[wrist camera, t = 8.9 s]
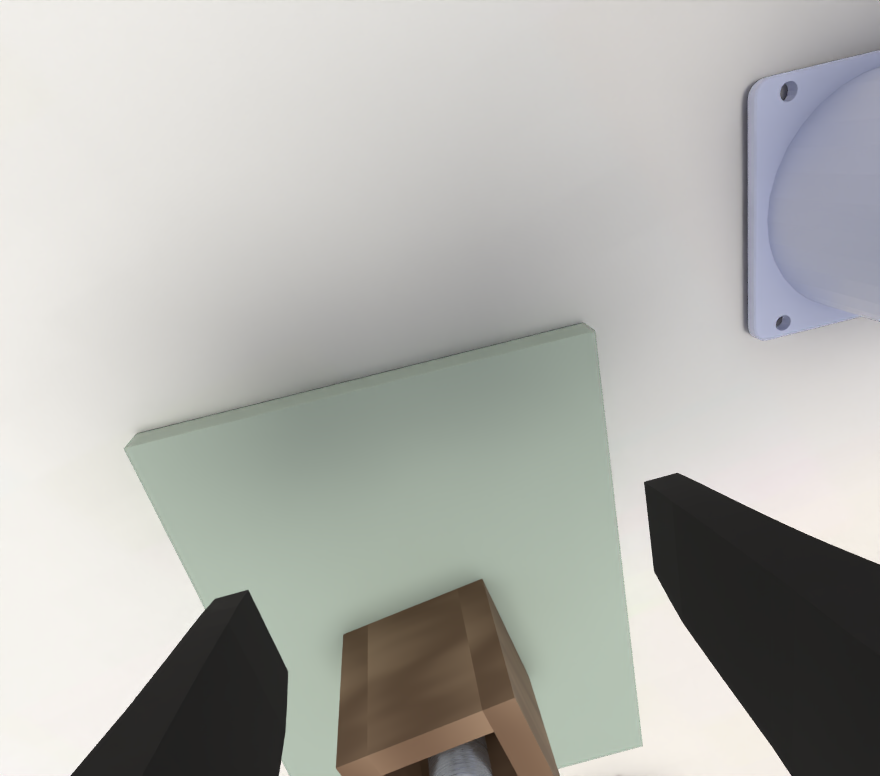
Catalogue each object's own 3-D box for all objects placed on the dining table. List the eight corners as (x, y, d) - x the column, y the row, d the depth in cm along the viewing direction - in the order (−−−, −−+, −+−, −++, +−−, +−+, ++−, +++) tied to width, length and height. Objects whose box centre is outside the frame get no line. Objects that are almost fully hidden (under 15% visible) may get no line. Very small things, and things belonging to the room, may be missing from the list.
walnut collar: (482, 578, 21) (514, 697, 16) (529, 676, 23) (569, 807, 18) (343, 634, 21) (335, 768, 16) (402, 726, 23) (410, 867, 18)
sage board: (583, 322, 18) (594, 330, 17) (633, 725, 26) (642, 745, 25) (136, 434, 18) (123, 448, 17) (320, 809, 26) (318, 833, 25)
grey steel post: (463, 638, 22) (489, 766, 17) (473, 674, 22) (500, 807, 18) (413, 651, 22) (425, 784, 17) (425, 687, 22) (439, 823, 18)
